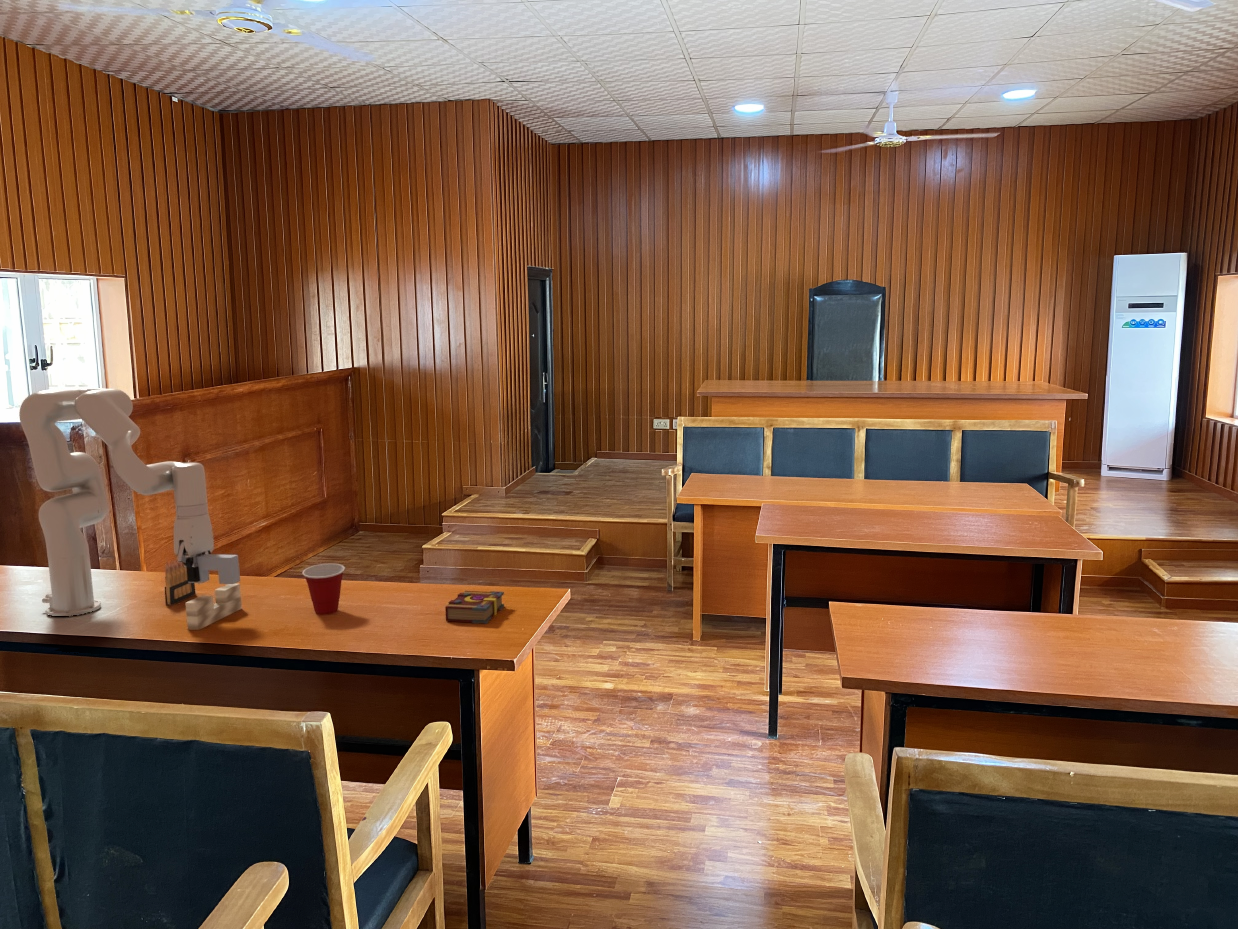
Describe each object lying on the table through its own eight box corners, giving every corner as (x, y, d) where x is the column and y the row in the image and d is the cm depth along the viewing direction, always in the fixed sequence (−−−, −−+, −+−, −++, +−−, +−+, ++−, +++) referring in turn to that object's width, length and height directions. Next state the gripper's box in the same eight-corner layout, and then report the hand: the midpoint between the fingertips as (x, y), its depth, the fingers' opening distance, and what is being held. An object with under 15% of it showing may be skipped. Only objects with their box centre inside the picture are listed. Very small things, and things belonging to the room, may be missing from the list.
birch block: (198, 630, 220) (196, 603, 219) (187, 629, 220) (185, 602, 219) (241, 608, 237) (239, 583, 236) (231, 608, 238) (230, 583, 237)
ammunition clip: (171, 605, 241) (167, 563, 239) (165, 605, 241) (161, 563, 240) (195, 594, 252) (192, 553, 250) (190, 594, 252) (186, 553, 250)
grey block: (188, 582, 227) (185, 556, 226) (196, 579, 230) (193, 553, 229) (233, 584, 225) (230, 557, 224) (240, 581, 228) (237, 554, 227)
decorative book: (444, 623, 224) (443, 604, 224) (466, 604, 240) (465, 586, 239) (486, 625, 222) (486, 606, 222) (505, 606, 238) (505, 588, 237)
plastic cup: (298, 618, 228) (295, 574, 227) (313, 605, 239) (311, 563, 237) (339, 618, 228) (336, 574, 226) (352, 605, 239) (350, 563, 237)
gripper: (199, 504, 234) (206, 571, 237) (157, 516, 218) (164, 587, 221) (224, 504, 233) (230, 571, 235) (183, 517, 217) (190, 588, 219)
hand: (198, 578), depth 228 cm, fingers closed on grey block, 3 cm apart
